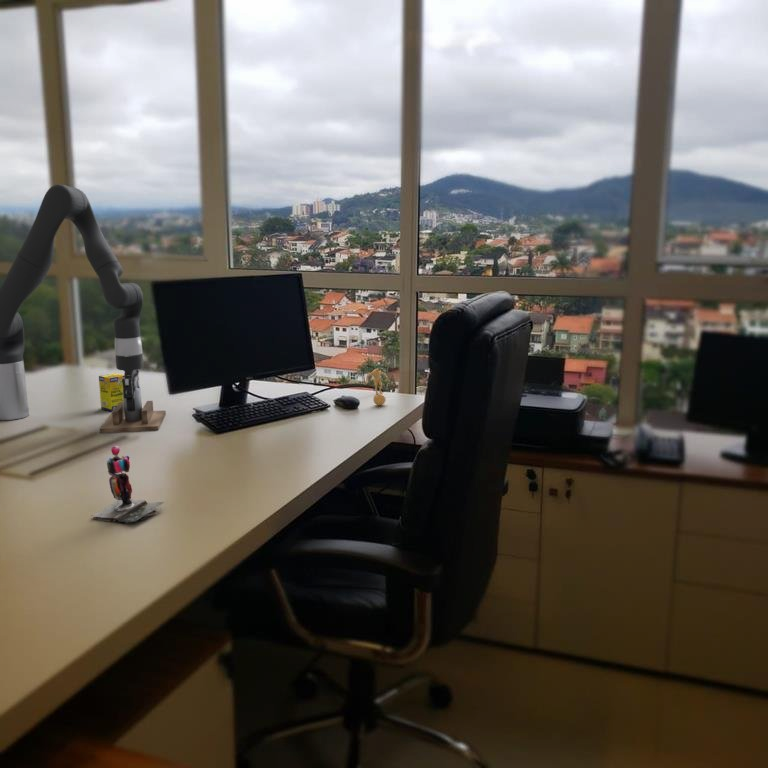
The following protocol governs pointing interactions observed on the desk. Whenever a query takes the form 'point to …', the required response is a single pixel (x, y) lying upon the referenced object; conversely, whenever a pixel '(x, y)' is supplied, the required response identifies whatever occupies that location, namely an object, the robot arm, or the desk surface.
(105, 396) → the supplement box
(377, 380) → the figurine
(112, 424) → the holder
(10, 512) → the desk surface
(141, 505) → the statue
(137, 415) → the grey block
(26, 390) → the robot arm
